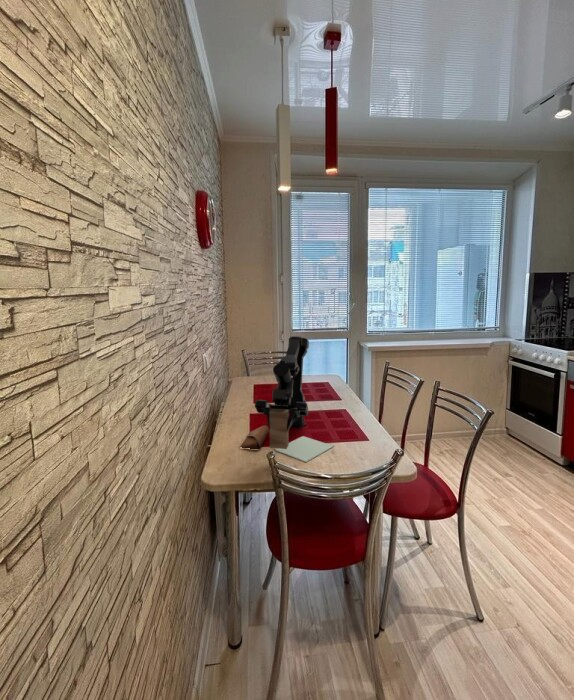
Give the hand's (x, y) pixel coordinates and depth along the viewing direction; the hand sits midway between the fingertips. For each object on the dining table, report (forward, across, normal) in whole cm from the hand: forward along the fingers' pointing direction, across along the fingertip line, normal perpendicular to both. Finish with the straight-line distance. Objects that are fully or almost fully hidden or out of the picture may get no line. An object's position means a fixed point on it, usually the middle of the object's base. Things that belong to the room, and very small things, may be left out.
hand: (278, 429), depth 128 cm
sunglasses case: (-3, -13, +20) cm, 24 cm away
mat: (0, +7, +17) cm, 18 cm away
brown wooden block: (+4, 0, +6) cm, 7 cm away
